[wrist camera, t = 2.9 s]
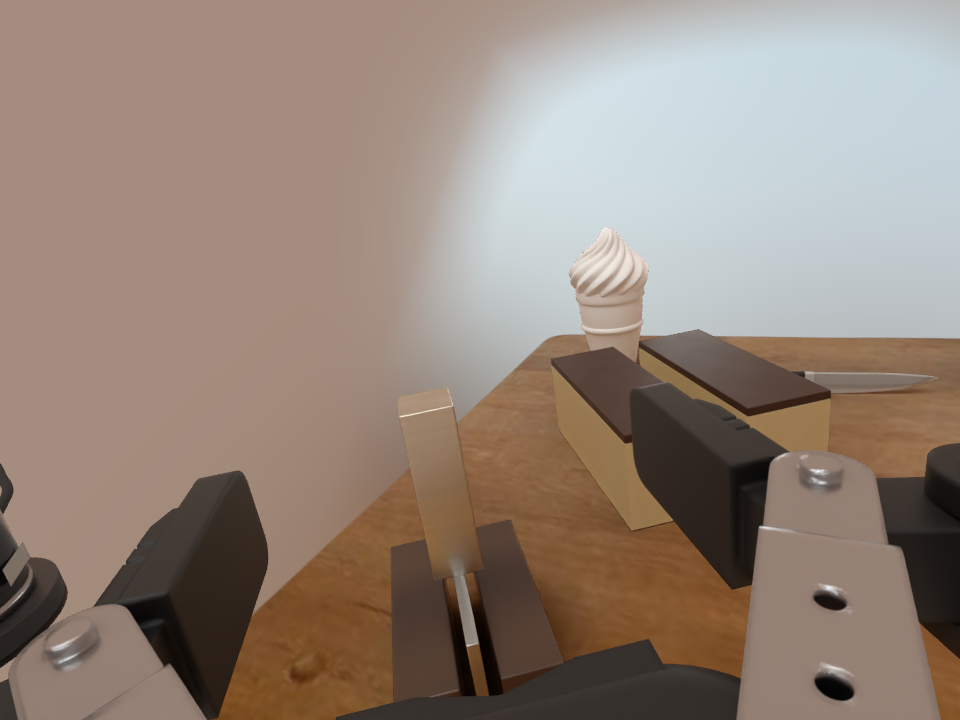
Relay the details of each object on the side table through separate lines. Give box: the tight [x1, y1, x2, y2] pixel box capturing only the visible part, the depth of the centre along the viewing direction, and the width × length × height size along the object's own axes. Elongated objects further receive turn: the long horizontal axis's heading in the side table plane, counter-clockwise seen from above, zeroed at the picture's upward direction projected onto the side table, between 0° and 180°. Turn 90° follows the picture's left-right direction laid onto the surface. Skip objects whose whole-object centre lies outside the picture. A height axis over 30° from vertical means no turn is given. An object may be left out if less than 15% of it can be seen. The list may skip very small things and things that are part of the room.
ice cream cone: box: [569, 228, 649, 363], centre depth 61 cm, size 8×8×16 cm
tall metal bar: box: [398, 388, 489, 696], centre depth 25 cm, size 10×2×15 cm, turn 10°
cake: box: [551, 329, 831, 531], centre depth 44 cm, size 16×14×7 cm
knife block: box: [391, 520, 565, 703], centre depth 27 cm, size 10×7×5 cm
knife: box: [792, 372, 939, 393], centre depth 50 cm, size 15×1×2 cm, turn 67°
